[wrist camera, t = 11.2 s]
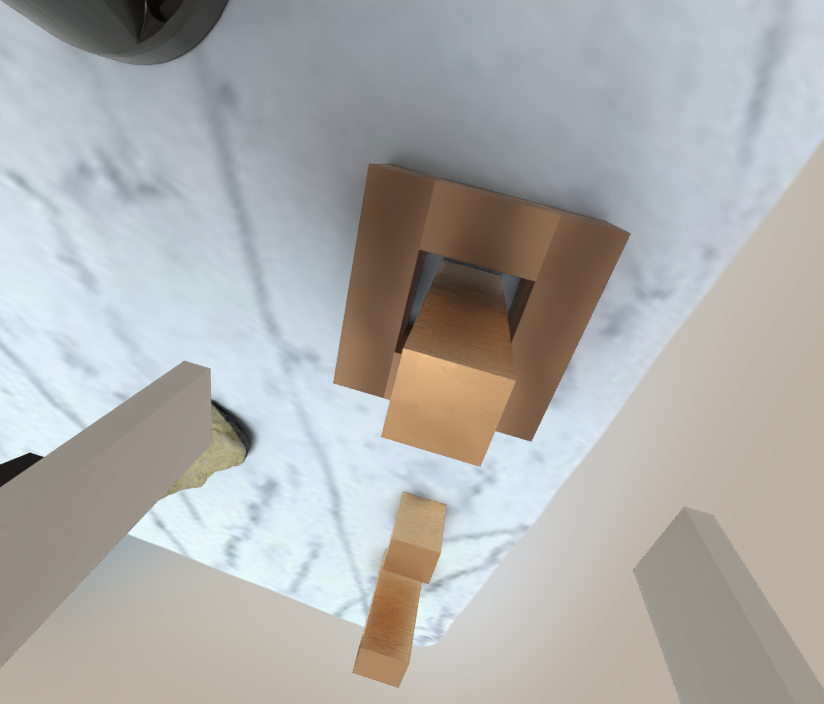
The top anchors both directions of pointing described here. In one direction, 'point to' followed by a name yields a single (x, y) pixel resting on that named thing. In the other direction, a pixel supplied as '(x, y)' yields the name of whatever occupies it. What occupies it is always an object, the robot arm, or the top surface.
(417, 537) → the short pin
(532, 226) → the hole block
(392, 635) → the medium pin
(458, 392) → the long pin
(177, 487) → the rock
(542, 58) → the top surface
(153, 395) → the robot arm
